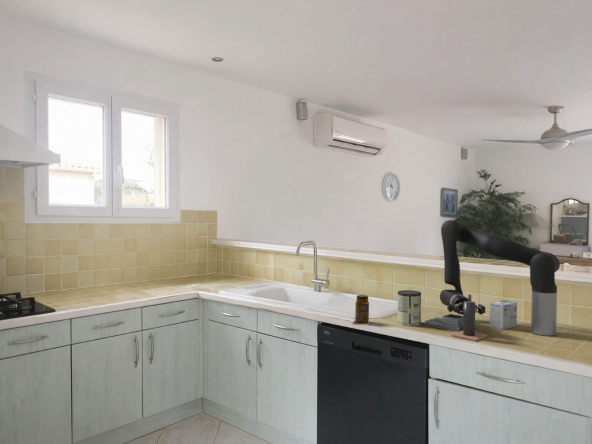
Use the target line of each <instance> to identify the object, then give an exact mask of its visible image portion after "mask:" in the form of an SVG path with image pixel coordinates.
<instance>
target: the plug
mask: <svg viewBox="0 0 592 444" xmlns="http://www.w3.org/2000/svg"><path fill="white" fill-rule="evenodd" d="M467 298H468V301H464V307H463V315H462V316H463V335H466V336H475V333H476V313H475V305H476V302H475V301H472V294H470V293H468V294H467Z"/></svg>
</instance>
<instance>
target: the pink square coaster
mask: <svg viewBox="0 0 592 444" xmlns="http://www.w3.org/2000/svg"><path fill="white" fill-rule="evenodd" d="M450 336H451V337H452V338H457V339H462V340H466V341H472V342H478V341H481V340H483V339H486V338H487V337H488V335H487V334H483V333H478V332H475V336H466V335H463V331H460V332H454V333H451V335H450Z"/></svg>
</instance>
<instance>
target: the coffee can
mask: <svg viewBox="0 0 592 444" xmlns="http://www.w3.org/2000/svg"><path fill="white" fill-rule="evenodd" d="M421 308H422V292H421V291H419V290H411V289H410V290H409V289H407V290H406V289H405V290H398V291H397V324H399V325H401V326H408V327H416V326H420V325H421V324H422V323H421V321H422V320H421V319H422V316H421V315H422V314H421V313H422V309H421Z"/></svg>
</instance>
